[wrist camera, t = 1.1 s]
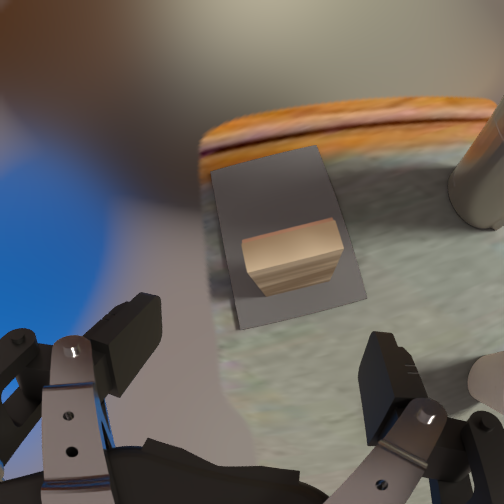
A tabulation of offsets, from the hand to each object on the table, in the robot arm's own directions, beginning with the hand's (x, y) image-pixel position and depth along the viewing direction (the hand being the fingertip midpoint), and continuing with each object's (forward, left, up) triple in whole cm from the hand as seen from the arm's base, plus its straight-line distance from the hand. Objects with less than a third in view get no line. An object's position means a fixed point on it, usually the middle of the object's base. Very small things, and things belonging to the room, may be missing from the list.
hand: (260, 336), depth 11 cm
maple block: (+2, -6, -22) cm, 23 cm away
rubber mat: (+6, -11, -22) cm, 25 cm away
